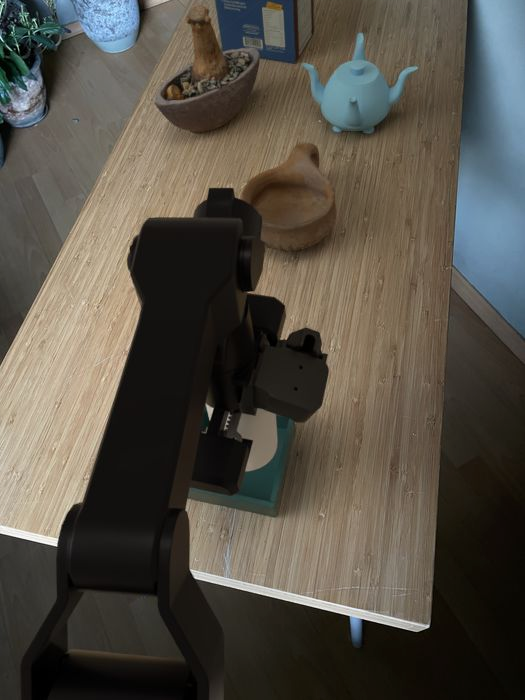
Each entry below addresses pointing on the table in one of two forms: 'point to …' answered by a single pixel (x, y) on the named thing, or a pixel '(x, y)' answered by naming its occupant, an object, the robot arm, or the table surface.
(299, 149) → the bowl
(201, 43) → the planter
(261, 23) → the protein box
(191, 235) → the robot arm
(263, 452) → the can
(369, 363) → the table surface
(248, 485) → the teal shallow tray
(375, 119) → the teapot
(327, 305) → the table surface
